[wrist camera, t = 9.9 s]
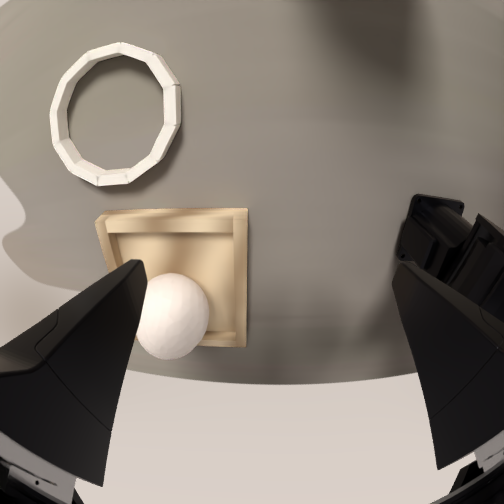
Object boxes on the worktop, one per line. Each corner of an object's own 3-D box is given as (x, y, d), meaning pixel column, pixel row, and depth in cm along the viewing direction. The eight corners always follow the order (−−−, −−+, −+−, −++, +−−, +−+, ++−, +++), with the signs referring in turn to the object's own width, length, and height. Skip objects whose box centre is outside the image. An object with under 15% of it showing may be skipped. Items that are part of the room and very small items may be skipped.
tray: (247, 208, 21) (247, 219, 19) (246, 332, 28) (246, 347, 26) (105, 210, 20) (94, 221, 19) (139, 326, 28) (134, 340, 26)
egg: (222, 269, 23) (213, 342, 16) (203, 316, 26) (192, 384, 19) (153, 247, 21) (120, 313, 15) (143, 297, 24) (119, 361, 18)
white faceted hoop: (181, 35, 13) (176, 30, 12) (184, 175, 19) (179, 180, 18) (58, 66, 13) (48, 66, 12) (69, 184, 19) (60, 190, 18)
